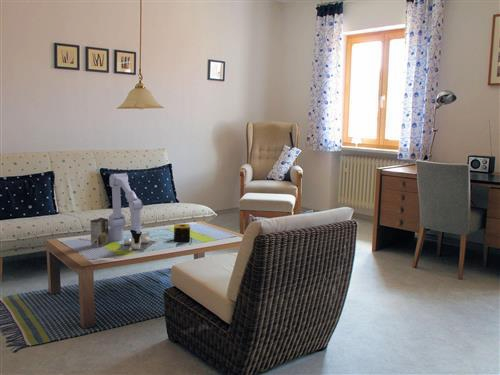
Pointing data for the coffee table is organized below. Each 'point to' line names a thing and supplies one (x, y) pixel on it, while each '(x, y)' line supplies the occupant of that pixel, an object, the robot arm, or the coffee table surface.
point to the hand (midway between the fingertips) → (135, 242)
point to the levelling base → (128, 247)
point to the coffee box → (99, 232)
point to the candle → (181, 233)
